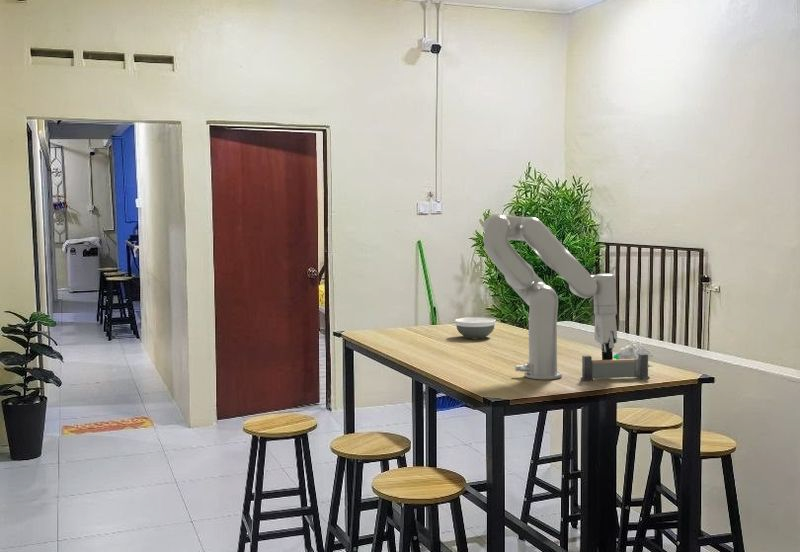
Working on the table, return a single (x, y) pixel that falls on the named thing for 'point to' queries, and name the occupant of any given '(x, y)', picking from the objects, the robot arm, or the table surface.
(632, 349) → the crumpled plastic bottle
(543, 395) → the table surface
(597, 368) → the gate leaf
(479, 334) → the bowl
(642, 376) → the gate posts
